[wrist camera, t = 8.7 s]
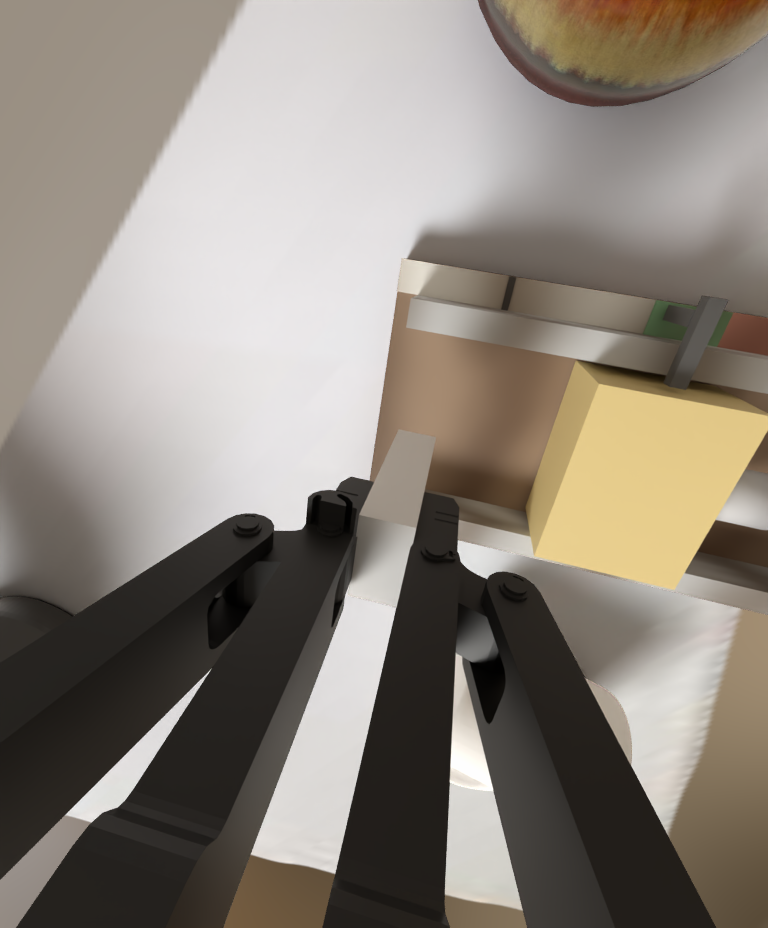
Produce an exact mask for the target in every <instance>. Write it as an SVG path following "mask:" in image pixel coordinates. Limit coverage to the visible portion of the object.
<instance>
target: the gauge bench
mask: <svg viewBox="0 0 768 928" xmlns="http://www.w3.org/2000/svg"><path fill="white" fill-rule="evenodd" d="M397 291H398V292H397V299H396V306H395V313H394V319H393V326H392V333H391V340H390V346H389V353H388V360H387V367H386V373H385V380H384V387H383V394H382V401H381V407H380V414H379V421H378V428H377V434H376V441H375V448H374V455H373V461H372V468H371V475H370V481H373V482H375V479H376V477H377V475H378V473H379V471H380V469H381V466H382V464H383V462H384V460H385V458H386V456H387V454H388V451H389V449H390V447H391V445H392V443H393V441H394V438H395V436H396V434H397V432H398V430H404V431H409V432H413V433H418V434H423V435H428V436H433V437H436V440H435V445H434V449H433V454H432V459H431V463H430V468H429V473H428V477H427V482H426V486H425V491H424V492H427V493H432V494H436V495H441V496H445V497H450V498H454V500H455V501H456V503H457V504H458V506H459V524H458V540H460V541H464V542H468V543H472V544H477V545H481V546H485V547H489V548H493V549H497V550H501V551H505V552H510V553H514V554H518V555H522V556H526V557H530V558H534V559H539V560H543V561H547V562H551V563H555V564H559V565H563V566H568V567H572V568H576V569H580V570H584V571H588V572H592V573H596V574H601V575H605V576H609V577H613V578H617V579H621V580H625V581H630V582H634V583H638V584H642V585H646V586H650V587H654V588H658V589H663V590H667V591H671V592H675V593H679V594H683V595H687V596H692V597H696V598H700V599H704V600H708V601H712V602H716V603H721V604H725V605H729V606H733V607H737V608H741V609H745V610H750V611H754V612H758V613H762V614H766V615H768V530H760V529H756V528H751V527H747V526H742V525H737V524H733V523H728V522H724V521H719V520H715V522H714V523H713V525H712V527H711V528H710V530H709V532H708V533H707V535H706V537H705V539H704V540H703V542H702V544H701V545H700V547H699V549H698V551H697V552H696V554H695V556H694V557H693V559H692V561H691V562H690V564H689V566H688V568H687V569H686V571H685V573H684V574H683V576H682V578H681V580H680V581H679V583H678V585H677V586H676V588H675V590H672V589H668V588H664V587H660V586H656V585H651V584H647V583H643V582H639V581H635V580H631V579H626V578H622V577H618V576H614V575H610V574H606V573H602V572H597V571H593V570H589V569H585V568H581V567H577V566H573V565H568V564H564V563H560V562H556V561H552V560H548V559H544V558H539V557H535V556H534V553H533V547H532V542H531V536H530V530H529V525H528V519H527V514H526V508H525V507H526V504H527V501H528V498H529V495H530V492H531V489H532V487H533V484H534V481H535V478H536V475H537V472H538V469H539V466H540V463H541V460H542V457H543V455H544V452H545V449H546V446H547V443H548V440H549V437H550V434H551V431H552V428H553V425H554V422H555V420H556V417H557V414H558V411H559V408H560V405H561V402H562V399H563V396H564V393H565V390H566V388H567V385H568V382H569V379H570V376H571V373H572V370H573V367H574V364H575V361H582V362H587V363H593V364H598V365H603V366H609V367H614V368H620V369H625V370H631V371H636V372H642V373H647V374H652V375H658V376H663V377H666V375H667V373H668V371H669V369H670V366H671V364H672V362H673V360H674V357H675V355H676V353H677V351H678V348H679V346H680V344H681V342H682V339H683V337H684V335H685V333H686V331H687V328H688V327H684V326H681V325H678V324H674V323H671V322H668V321H664V320H663V317H664V315H665V312H666V310H667V308H668V305H673V306H679V307H685V308H690V309H694V310H696V308H697V306H692V305H686V304H680V303H674V302H668V301H662V300H656V299H649V298H643V297H637V296H631V295H625V294H619V293H613V292H607V291H600V290H594V289H588V288H582V287H576V286H570V285H564V284H558V283H551V282H545V281H539V280H533V279H527V278H521V277H515V276H509V275H502V274H496V273H490V272H484V271H478V270H472V269H466V268H460V267H453V266H447V265H441V264H435V263H429V262H423V261H417V260H411V259H403V258H402V260H401V267H400V274H399V281H398V287H397ZM690 382H696V383H701V384H707V385H712V386H716V387H718V388H720V389H722V390H724V391H726V392H728V393H729V394H731V395H733V396H735V397H737V398H739V399H741V400H743V401H745V402H747V403H749V404H751V405H753V406H755V407H757V408H759V409H760V410H762V411H764V412H766V413H768V318H766V317H760V316H754V315H748V314H741V313H735V312H729V311H723V313H722V315H721V317H720V319H719V321H718V323H717V325H716V327H715V330H714V332H713V334H712V336H711V338H710V340H709V342H708V344H707V347H706V349H705V351H704V353H703V355H702V357H701V359H700V361H699V363H698V366H697V368H696V370H695V372H694V374H693V376H692V378H691V380H690ZM746 469H748V470H753V471H758V472H763V473H768V431H767V433H766V434H765V436H764V438H763V440H762V441H761V443H760V445H759V446H758V448H757V450H756V452H755V453H754V455H753V457H752V458H751V460H750V462H749V463H748V465H747V467H746Z"/></svg>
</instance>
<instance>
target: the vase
mask: <svg viewBox="0 0 768 928" xmlns="http://www.w3.org/2000/svg"><path fill="white" fill-rule="evenodd" d="M478 2H479V6H480V9H481V11H482V13H483V15H484V18H485V20H486V22H487V24H488V26H489V28H490V31H491V33H492V35H493V37H494V39H495V41H496V42H497V44H498V45H499V47H500V48H501V50H502V51H503V53H504V54H505V56H506V57H507V59H508V60H509V62H510V63H511V64H512V65H513V66H514V67H515V68H516V69H517V70H518V71H519V72H520V73H521V74H522V75H523V76H524V77H525V78H526V79H527V80H528V81H529V82H531V83H532V84H534V85H535V86H537V87H538V88H540V89H541V90H543V91H544V92H546V93H547V94H549V95H552V96H554V97H557V98H559V99H562V100H564V101H567V102H570V103H575V104H581V105H586V106H592V107H598V106H623V105H628V104H633V103H638V102H643V101H648V100H651V99H654V98H657V97H659V96H662V95H665V94H668V93H670V92H673V91H676V90H679V89H681V88H684V87H686V86H688V85H690V84H692V83H694V82H695V81H697V80H699V79H701V78H703V77H705V76H707V75H709V74H710V73H712V72H714V71H716V70H718V69H720V68H722V67H723V66H725V65H726V64H728V63H729V62H731V61H732V60H734V59H735V58H737V57H738V56H739V55H741V54H742V53H744V52H745V51H746V50H748V49H749V48H751V47H752V46H754V45H755V44H756V43H758V42H759V41H761V40H762V39H763V38H765V37H766V36H767V35H768V0H478Z"/></svg>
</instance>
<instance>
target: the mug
mask: <svg viewBox="0 0 768 928" xmlns="http://www.w3.org/2000/svg"><path fill="white" fill-rule="evenodd" d="M585 679H586V678H585ZM586 681H587V683H588V685H589V687H590V689H591V690H592V692H593V694H594V696H595V698H596V700H597V702H598V704H599V706H600V708H601V709H602V711H603V713H604V715H605V717H606V719H607V721H608V723H609V725H610V727H611V729H612V730H613V732H614V734H615V736H616V738H617V740H618V742H619V744H620V746H621V748H622V749H623V751H624V753H625V755H626V757H627V759H628V761H629V763H630V765H631V761H632V741H631V733H630V728H629V724H628V720H627V718H626V715H625V712H624V710H623V708H622V706H621V704H620V703H619V701H618V700H617V699H616V698H615V696H614V695H613V694H612V693H611V692H609V691H608V690H607V689H605V688H603V687H601V686H600V685H598V684H596V683H594V682H592V681H590V680H588V679H586ZM450 782H451V783H453V784H456V785H458V786H462V787H466V788H471V789H477V790H486V791H493V787H492V783H491V779H490V775H489V770H488V766H487V762H486V758H485V754H484V750H483V746H482V742H481V738H480V734H479V730H478V726H477V722H476V718H475V714H474V710H473V705H472V701H471V697H470V693H469V689H468V685H467V681H466V677H465V673H464V669H463V665H462V656H460V655H458V654H456V660H455V681H454V702H453V724H452V745H451V766H450Z"/></svg>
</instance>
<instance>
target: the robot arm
mask: <svg viewBox="0 0 768 928" xmlns="http://www.w3.org/2000/svg"><path fill="white" fill-rule="evenodd" d="M435 440H436V437H433V436H428V435H423V434H418V433H413V432H409V431H404V430H398V432H397V434H396V436H395V438H394V441H393V443H392V445H391V447H390V449H389V451H388V454H387V456H386V458H385V460H384V462H383V464H382V466H381V469H380V471H379V473H378V475H377V477H376V479H375V482H373V481H368V480H364V479H359V478H354V477H350V478H348V479H346V480H344V481H342V482H341V483H340V485H339V486H338V488H337V489H336V491H333V490H325V491H319V492H316V493H313V494H312V495H311V496H309V497H308V505H307V517H306V525H305V526H304V528H303V529H302V530H297V531H274V525H273V523H272V521H271V520H270V519H268V518H266V517H265V516H262V515H258V514H240V515H235V516H233V517H231V518H228V519H227V520H225V521H223V522H222V523H220V524H219V525H217V526H216V527H214V528H212V529H211V530H209V531H208V532H206V533H204V534H203V535H201V536H200V537H198V538H197V539H195V540H193V541H192V542H190V543H189V544H187V545H185V546H184V547H182V548H181V549H179V550H178V551H176V552H174V553H173V554H171V555H170V556H168V557H167V558H165V559H163V560H162V561H160V562H159V563H157V564H155V565H154V566H152V567H151V568H149V569H148V570H146V571H144V572H143V573H141V574H140V575H138V576H136V577H135V578H133V579H132V580H130V581H129V582H127V583H125V584H124V585H122V586H121V587H119V588H117V589H116V590H114V591H113V592H111V593H110V594H108V595H106V596H105V597H103V598H102V599H100V600H99V601H97V602H95V603H94V604H92V605H91V606H89V607H87V608H86V609H84V610H83V611H81V612H80V613H78V614H76V615H75V616H73V617H72V616H71V615H69V614H68V613H66V612H64V611H62V610H60V609H59V608H56V607H54V606H52V605H50V604H47V603H45V602H42V601H39V600H36V599H32V598H27V597H20V596H9V597H3V598H0V879H1V878H2V877H3V876H4V875H5V874H6V873H7V872H8V871H9V870H10V869H11V868H12V867H13V866H14V865H15V864H16V863H17V862H18V861H19V860H20V859H21V858H22V857H23V856H24V855H25V854H26V853H27V852H28V851H29V850H30V849H31V848H32V847H33V846H34V845H35V844H36V843H37V842H38V841H39V840H40V839H41V838H42V837H43V836H44V835H45V834H46V833H47V832H48V831H49V830H50V829H51V828H52V827H53V826H54V825H55V824H56V823H57V822H58V821H59V820H60V819H61V818H62V817H63V816H64V815H65V814H66V813H67V812H68V811H69V810H70V809H71V808H72V807H73V806H74V805H75V804H76V803H77V802H78V801H79V800H80V799H81V798H82V797H83V796H84V795H85V794H86V793H87V792H88V791H89V790H90V789H91V788H92V787H93V786H94V785H95V784H96V783H97V782H98V781H99V780H100V779H101V778H102V777H103V776H104V775H105V774H106V773H107V772H108V771H109V770H110V769H111V768H112V767H113V766H114V765H115V764H116V763H117V762H118V761H119V760H120V759H121V758H122V757H123V756H124V755H125V754H126V753H127V752H128V751H129V750H130V749H131V748H132V747H133V746H134V745H135V744H136V743H137V742H138V741H139V740H140V739H141V738H142V737H143V736H144V735H145V734H146V733H147V732H148V731H149V730H150V729H151V728H152V727H153V726H154V725H155V724H157V722H159V721H160V720H161V719H162V718H163V717H164V716H165V715H166V714H167V713H168V712H169V711H170V710H171V709H172V708H173V707H174V706H175V705H176V704H177V703H178V702H179V701H180V700H181V699H182V698H183V697H184V696H185V695H186V694H187V693H188V692H189V691H190V690H191V689H192V688H193V687H194V686H195V685H196V684H197V683H198V682H199V681H200V680H201V679H202V678H203V677H204V676H205V675H206V674H207V673H208V672H209V671H210V670H211V671H210V672H209V674H208V675H207V677H206V678H205V680H204V682H203V683H202V685H201V686H200V688H199V689H198V691H197V692H196V694H195V695H194V697H193V698H192V700H191V702H190V703H189V705H188V706H187V708H186V709H185V711H184V712H183V714H182V715H181V717H180V718H179V720H178V722H177V723H176V725H175V726H174V728H173V729H172V731H171V732H170V734H169V735H168V737H167V738H166V740H165V742H164V743H163V745H162V746H161V748H160V749H159V751H158V752H157V754H156V755H155V757H154V759H153V760H152V762H151V763H150V765H149V766H148V768H147V769H146V771H145V772H144V774H143V775H142V777H141V779H140V780H139V782H138V783H137V785H136V786H135V788H134V789H133V791H132V792H131V793H130V795H129V796H128V797H127V799H126V800H125V801H124V802H123V803H122V804H121V805H120V806H119V807H118V808H115V809H112V810H109V811H106V812H104V813H102V814H101V815H100V816H98V817H97V818H96V819H95V820H94V821H93V822H92V823H91V824H90V825H89V826H88V827H87V828H86V830H85V831H84V832H83V833H82V835H81V836H80V837H79V838H78V840H77V841H76V842H75V844H74V845H73V846H72V848H71V849H70V851H69V852H68V853H67V855H66V856H65V858H64V859H63V861H62V862H61V864H60V865H59V866H58V868H57V869H56V871H55V872H54V874H53V875H52V877H51V878H50V879H49V881H48V882H47V884H46V885H45V887H44V888H43V890H42V891H41V892H40V894H39V895H38V897H37V898H36V900H35V901H34V903H33V904H32V906H31V907H30V909H29V910H28V911H27V913H26V914H25V916H24V917H23V919H22V920H21V921H20V923H19V924H18V926H17V927H16V928H223V927H224V924H225V921H226V918H227V915H228V913H229V910H230V907H231V905H232V902H233V899H234V897H235V894H236V891H237V889H238V886H239V883H240V881H241V878H242V875H243V873H244V870H245V868H246V865H247V862H248V860H249V857H250V854H251V852H252V849H253V846H254V844H255V841H256V838H257V836H258V833H259V830H260V828H261V825H262V822H263V820H264V817H265V815H266V812H267V809H268V807H269V804H270V801H271V799H272V796H273V793H274V791H275V788H276V785H277V783H278V780H279V777H280V775H281V772H282V769H283V767H284V764H285V762H286V759H287V756H288V754H289V751H290V748H291V746H292V743H293V740H294V738H295V735H296V732H297V730H298V727H299V724H300V722H301V719H302V717H303V714H304V711H305V709H306V706H307V703H308V701H309V698H310V695H311V693H312V690H313V687H314V685H315V682H316V679H317V677H318V674H319V671H320V669H321V666H322V664H323V661H324V658H325V656H326V653H327V650H328V648H329V645H330V642H331V640H332V637H333V634H334V632H335V629H336V626H337V624H338V621H339V618H340V616H341V613H342V611H343V606H344V599H345V594H346V591H347V589H348V586H349V589H348V596H352V597H356V598H360V599H364V600H368V601H372V602H376V603H380V604H384V605H388V606H392V607H396V612H395V616H394V621H393V625H392V629H391V634H390V638H389V643H388V647H387V651H386V656H385V660H384V664H383V669H382V673H381V677H380V682H379V686H378V691H377V695H376V699H375V704H374V708H373V712H372V717H371V721H370V725H369V730H368V734H367V739H366V743H365V747H364V752H363V756H362V760H361V765H360V769H359V773H358V778H357V782H356V787H355V791H354V795H353V800H352V804H351V808H350V813H349V817H348V821H347V826H346V830H345V835H344V839H343V843H342V848H341V852H340V856H339V861H338V865H337V869H336V874H335V878H334V882H333V885H332V889H331V893H330V898H329V902H328V906H327V910H326V915H325V919H324V924H323V928H450V926H449V923H448V920H447V917H446V915H445V905H444V900H445V872H446V851H447V830H448V808H449V787H450V766H451V745H452V724H453V702H454V681H455V660H456V654H458V655H460V656H462V665H463V669H464V673H465V677H466V681H467V685H468V689H469V693H470V697H471V701H472V705H473V710H474V714H475V718H476V722H477V726H478V730H479V734H480V738H481V742H482V746H483V750H484V754H485V758H486V762H487V766H488V770H489V775H490V779H491V783H492V787H493V791H494V795H495V799H496V803H497V807H498V811H499V815H500V819H501V823H502V827H503V831H504V835H505V839H506V844H507V848H508V852H509V856H510V860H511V864H512V868H513V872H514V876H515V880H516V884H517V888H518V892H519V896H520V900H521V904H522V909H523V913H524V917H525V920H526V925H527V928H716V926H715V924H714V923H713V921H712V919H711V917H710V915H709V913H708V911H707V909H706V907H705V906H704V904H703V902H702V900H701V898H700V896H699V894H698V892H697V890H696V888H695V886H694V884H693V883H692V881H691V879H690V877H689V875H688V873H687V871H686V869H685V867H684V865H683V864H682V862H681V860H680V858H679V856H678V854H677V852H676V850H675V848H674V846H673V845H672V843H671V841H670V839H669V837H668V835H667V833H666V831H665V829H664V827H663V826H662V824H661V822H660V820H659V818H658V816H657V814H656V812H655V810H654V808H653V806H652V805H651V803H650V801H649V799H648V797H647V795H646V793H645V791H644V789H643V787H642V786H641V784H640V782H639V780H638V778H637V776H636V774H635V772H634V770H633V768H632V767H631V765H630V763H629V761H628V759H627V757H626V755H625V753H624V751H623V749H622V748H621V746H620V744H619V742H618V740H617V738H616V736H615V734H614V732H613V730H612V729H611V727H610V725H609V723H608V721H607V719H606V717H605V715H604V713H603V711H602V709H601V708H600V706H599V704H598V702H597V700H596V698H595V696H594V694H593V692H592V690H591V689H590V687H589V685H588V683H587V681H586V679H585V677H584V675H583V673H582V671H581V670H580V668H579V666H578V664H577V662H576V660H575V658H574V656H573V654H572V652H571V651H570V649H569V647H568V645H567V643H566V641H565V639H564V637H563V635H562V633H561V632H560V630H559V628H558V626H557V624H556V622H555V620H554V618H553V616H552V614H551V612H550V611H549V609H548V607H547V605H546V603H545V601H544V599H543V597H542V595H541V593H540V592H539V590H538V589H537V588H536V587H535V585H534V584H532V583H531V582H530V581H528V580H527V579H526V578H524V577H521V576H519V575H517V574H514V573H509V572H496V573H494V574H492V575H490V576H489V577H488V579H485V578H483V577H481V576H479V575H477V574H475V573H473V572H471V571H470V570H468V569H467V568H466V567H465V566H464V565H463V564H462V563H461V562H460V557H459V553H458V552H457V544H458V524H459V506H458V504H457V503H456V501H455V500H454V498H450V497H445V496H441V495H436V494H432V493H427V492H424V491H425V486H426V482H427V477H428V473H429V468H430V463H431V459H432V454H433V449H434V445H435Z"/></svg>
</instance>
